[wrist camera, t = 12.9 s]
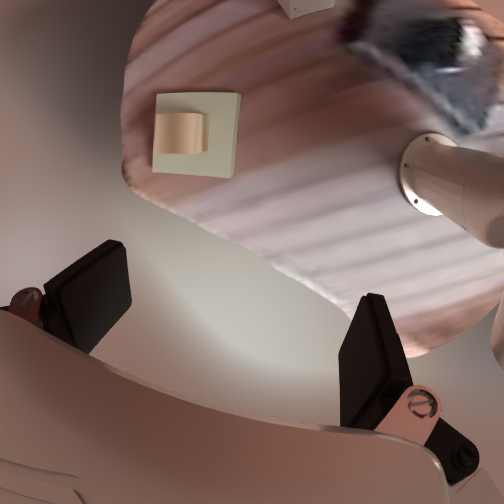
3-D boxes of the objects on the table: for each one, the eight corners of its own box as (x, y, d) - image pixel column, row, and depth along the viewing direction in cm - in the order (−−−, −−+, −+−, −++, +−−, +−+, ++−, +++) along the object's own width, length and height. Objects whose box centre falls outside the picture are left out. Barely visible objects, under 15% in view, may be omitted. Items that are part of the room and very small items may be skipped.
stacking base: (241, 95, 34) (237, 92, 32) (233, 175, 39) (229, 178, 37) (164, 95, 35) (156, 93, 33) (160, 169, 40) (152, 172, 38)
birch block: (210, 115, 33) (194, 113, 28) (207, 151, 35) (191, 154, 30) (176, 115, 34) (156, 114, 28) (174, 149, 36) (154, 153, 31)
